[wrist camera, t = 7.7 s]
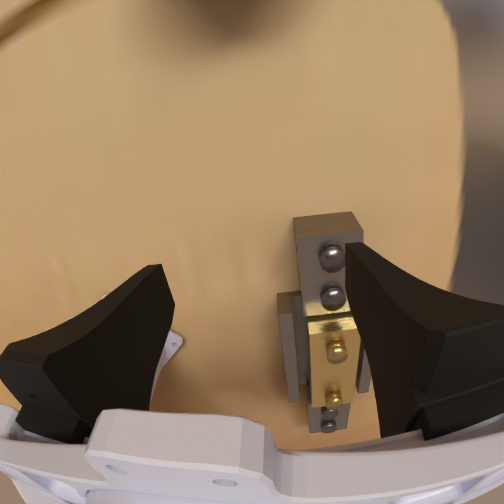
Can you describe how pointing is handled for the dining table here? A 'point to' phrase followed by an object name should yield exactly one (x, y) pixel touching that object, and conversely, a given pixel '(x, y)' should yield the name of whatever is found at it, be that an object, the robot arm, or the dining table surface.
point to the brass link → (332, 358)
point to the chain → (318, 306)
